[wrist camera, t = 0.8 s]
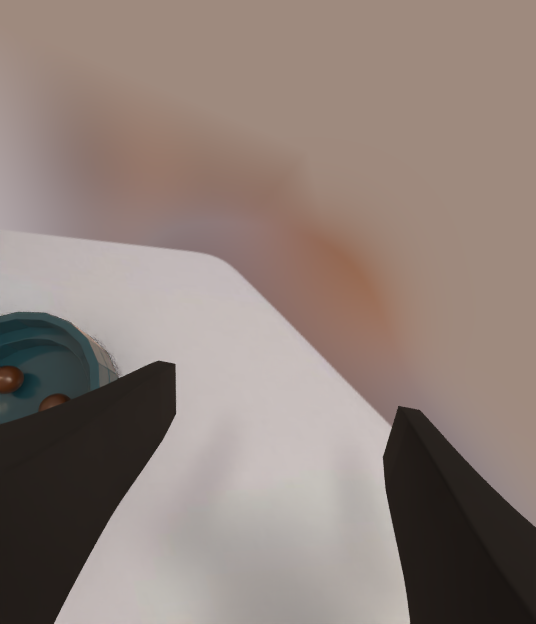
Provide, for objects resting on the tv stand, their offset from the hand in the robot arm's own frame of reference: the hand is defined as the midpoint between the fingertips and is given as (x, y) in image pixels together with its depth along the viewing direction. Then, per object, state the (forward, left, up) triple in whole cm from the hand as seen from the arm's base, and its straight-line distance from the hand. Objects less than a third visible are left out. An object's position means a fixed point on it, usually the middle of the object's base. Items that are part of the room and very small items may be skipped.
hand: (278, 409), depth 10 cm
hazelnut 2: (+10, +12, -12) cm, 19 cm away
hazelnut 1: (+14, +14, -12) cm, 23 cm away
